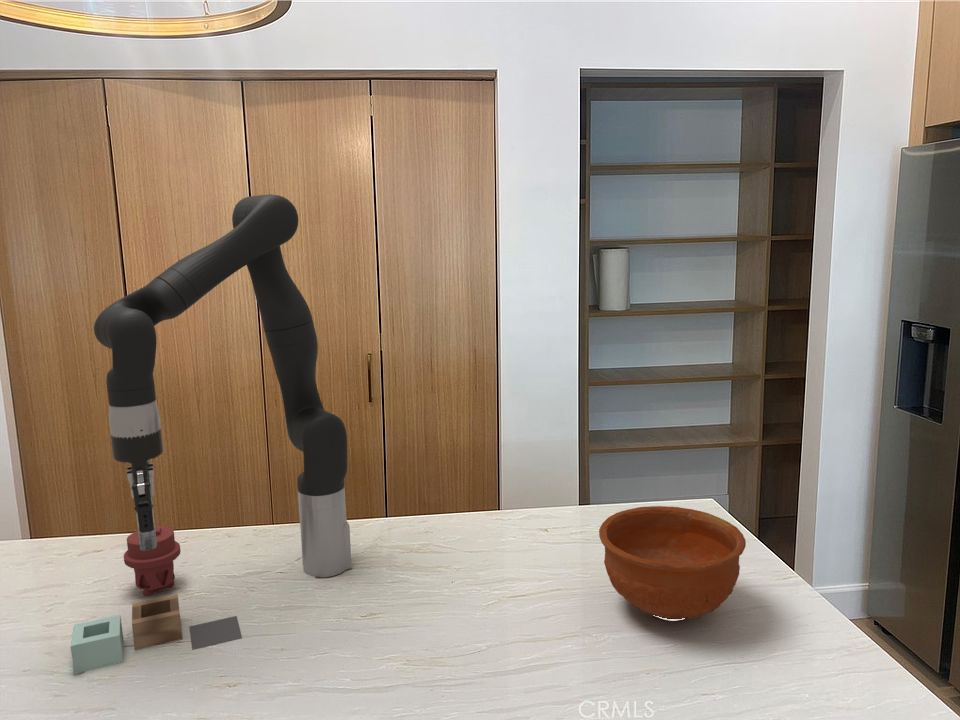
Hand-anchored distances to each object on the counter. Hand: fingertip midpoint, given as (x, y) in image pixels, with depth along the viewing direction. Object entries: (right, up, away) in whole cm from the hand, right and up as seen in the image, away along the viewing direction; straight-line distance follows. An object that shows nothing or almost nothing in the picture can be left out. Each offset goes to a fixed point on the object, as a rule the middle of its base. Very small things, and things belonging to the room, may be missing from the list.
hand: (146, 527), depth 125 cm
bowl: (+90, -17, +9) cm, 92 cm away
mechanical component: (-7, -17, +20) cm, 27 cm away
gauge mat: (+10, -19, +4) cm, 22 cm away
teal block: (-7, -21, -2) cm, 22 cm away
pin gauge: (0, -4, +1) cm, 4 cm away
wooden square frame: (0, -20, +4) cm, 20 cm away
